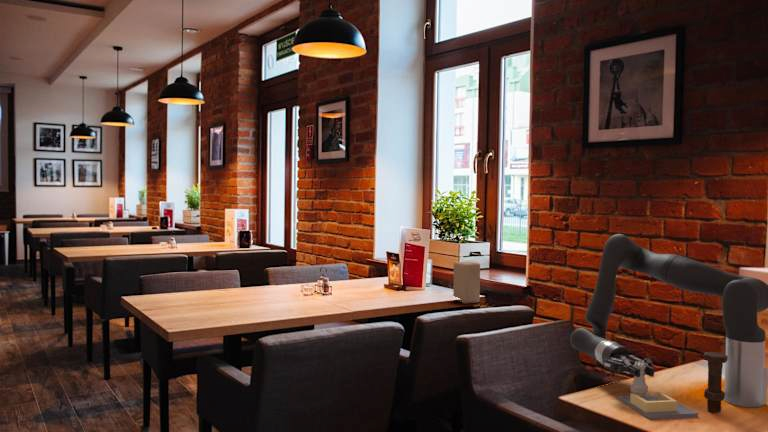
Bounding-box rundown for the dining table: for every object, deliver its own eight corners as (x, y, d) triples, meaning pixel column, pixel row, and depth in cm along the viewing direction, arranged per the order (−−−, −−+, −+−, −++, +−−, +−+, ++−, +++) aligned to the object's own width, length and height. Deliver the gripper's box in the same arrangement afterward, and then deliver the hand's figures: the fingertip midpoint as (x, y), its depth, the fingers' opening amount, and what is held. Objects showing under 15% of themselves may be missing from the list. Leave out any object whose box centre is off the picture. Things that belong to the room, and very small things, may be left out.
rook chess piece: (626, 390, 175) (627, 361, 174) (639, 388, 176) (640, 359, 176) (638, 395, 171) (639, 365, 170) (651, 393, 172) (652, 364, 172)
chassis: (663, 398, 177) (663, 385, 177) (698, 417, 162) (698, 403, 162) (619, 400, 175) (619, 387, 175) (649, 419, 160) (650, 405, 160)
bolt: (730, 414, 164) (732, 355, 164) (716, 416, 163) (717, 357, 162) (711, 407, 170) (713, 350, 169) (697, 409, 168) (698, 352, 167)
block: (480, 302, 326) (480, 263, 325) (464, 304, 321) (465, 264, 320) (468, 299, 335) (468, 261, 334) (452, 301, 330) (452, 262, 329)
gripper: (590, 343, 186) (621, 359, 169) (636, 342, 188) (671, 358, 171) (590, 369, 186) (620, 388, 169) (635, 367, 189) (670, 386, 172)
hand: (645, 372), depth 170 cm, fingers closed on rook chess piece, 3 cm apart
